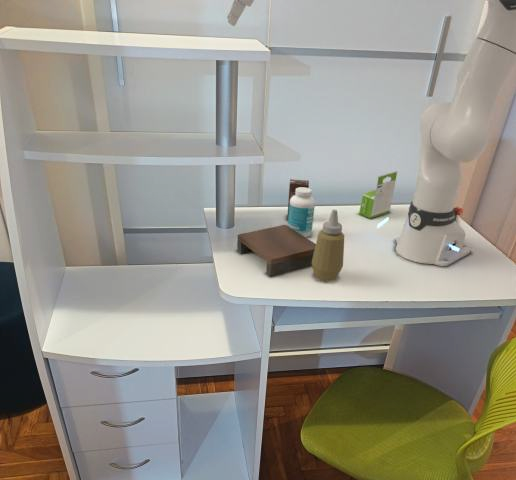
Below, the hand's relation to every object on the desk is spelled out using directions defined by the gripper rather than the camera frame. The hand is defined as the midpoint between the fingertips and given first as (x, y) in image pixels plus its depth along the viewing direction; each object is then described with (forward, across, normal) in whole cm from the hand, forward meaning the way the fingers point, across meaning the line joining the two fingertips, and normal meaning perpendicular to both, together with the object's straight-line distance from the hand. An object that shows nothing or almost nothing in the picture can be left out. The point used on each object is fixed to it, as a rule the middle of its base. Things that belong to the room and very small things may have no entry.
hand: (230, 22), depth 111 cm
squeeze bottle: (+36, -15, -48) cm, 62 cm away
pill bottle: (+37, +12, -45) cm, 60 cm away
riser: (+41, -4, -38) cm, 56 cm away
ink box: (+24, +30, -70) cm, 79 cm away
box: (+37, +24, -46) cm, 63 cm away
